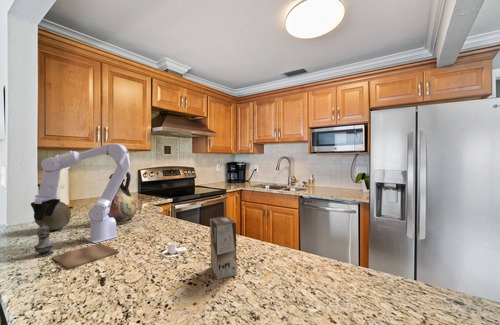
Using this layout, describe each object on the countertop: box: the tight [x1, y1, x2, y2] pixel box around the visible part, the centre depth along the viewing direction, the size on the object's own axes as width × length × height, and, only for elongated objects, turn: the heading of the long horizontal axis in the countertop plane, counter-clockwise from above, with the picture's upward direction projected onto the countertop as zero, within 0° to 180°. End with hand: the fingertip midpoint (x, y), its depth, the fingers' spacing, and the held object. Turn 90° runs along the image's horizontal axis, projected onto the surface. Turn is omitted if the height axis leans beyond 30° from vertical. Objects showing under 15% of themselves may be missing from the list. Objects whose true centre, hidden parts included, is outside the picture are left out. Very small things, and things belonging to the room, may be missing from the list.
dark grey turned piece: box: [33, 223, 55, 258], centre depth 87 cm, size 6×6×12 cm
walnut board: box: [51, 242, 120, 271], centre depth 86 cm, size 16×16×1 cm
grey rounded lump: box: [33, 201, 72, 231], centre depth 118 cm, size 14×14×15 cm
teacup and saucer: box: [161, 241, 187, 258], centre depth 87 cm, size 9×8×4 cm
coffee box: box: [209, 216, 238, 280], centre depth 73 cm, size 9×6×16 cm
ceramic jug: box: [107, 170, 137, 225], centre depth 131 cm, size 17×15×30 cm
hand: (43, 217), depth 96 cm, fingers open, 7 cm apart
